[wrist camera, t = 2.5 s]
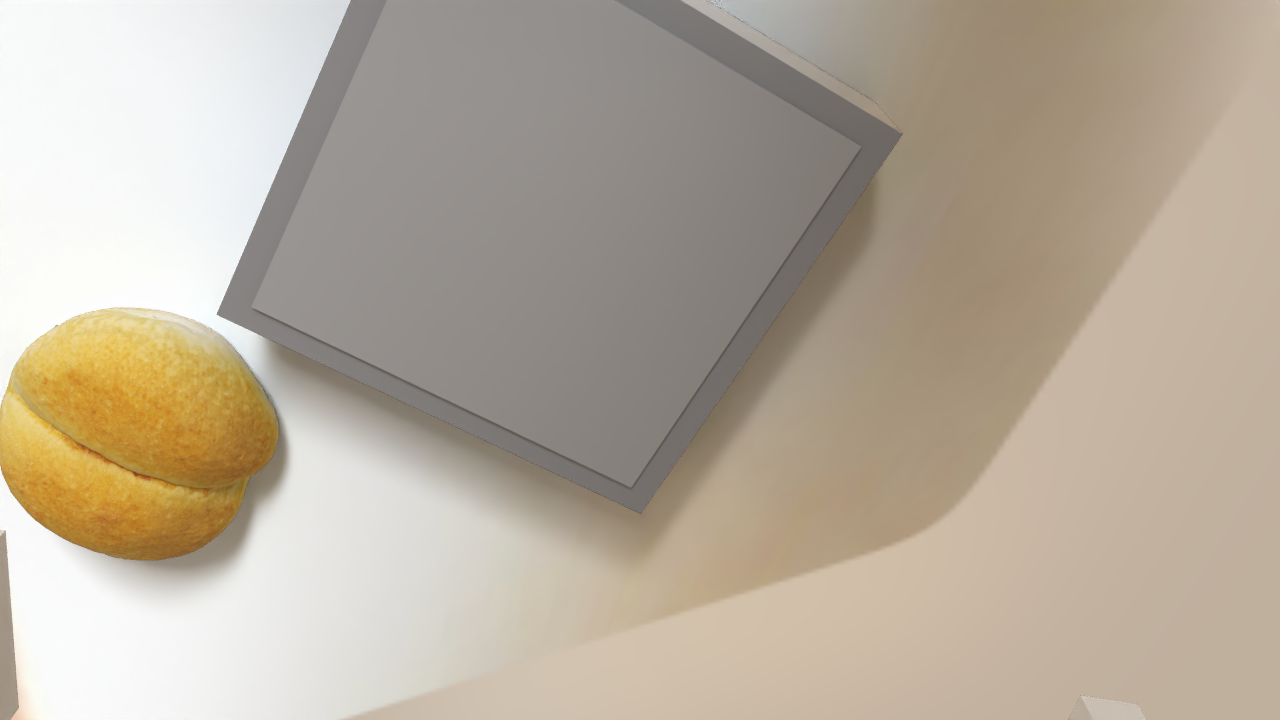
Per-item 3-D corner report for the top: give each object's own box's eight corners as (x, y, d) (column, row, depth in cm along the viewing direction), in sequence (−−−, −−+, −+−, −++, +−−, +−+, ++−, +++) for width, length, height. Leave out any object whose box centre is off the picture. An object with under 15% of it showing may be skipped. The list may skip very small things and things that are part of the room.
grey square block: (255, 268, 34) (214, 316, 30) (442, -160, 28) (417, -158, 25) (640, 455, 37) (640, 516, 33) (876, 102, 31) (904, 135, 28)
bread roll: (320, 374, 36) (285, 436, 32) (210, 553, 39) (167, 627, 35) (82, 244, 33) (16, 294, 30) (-13, 446, 37) (-82, 513, 33)
